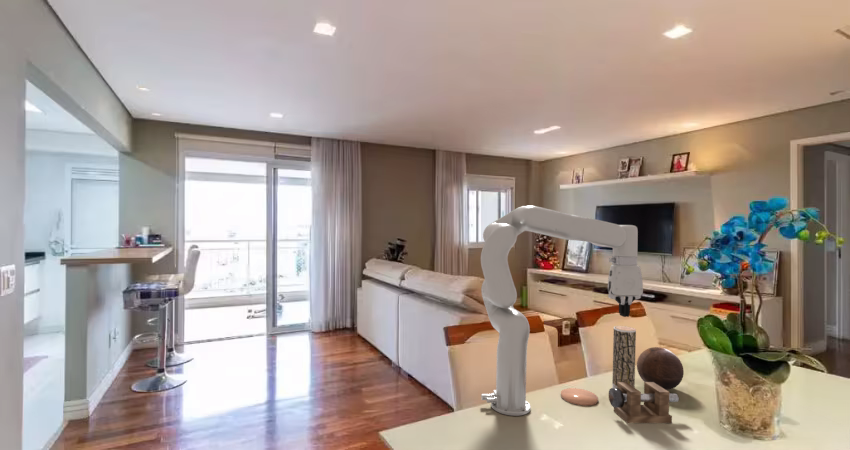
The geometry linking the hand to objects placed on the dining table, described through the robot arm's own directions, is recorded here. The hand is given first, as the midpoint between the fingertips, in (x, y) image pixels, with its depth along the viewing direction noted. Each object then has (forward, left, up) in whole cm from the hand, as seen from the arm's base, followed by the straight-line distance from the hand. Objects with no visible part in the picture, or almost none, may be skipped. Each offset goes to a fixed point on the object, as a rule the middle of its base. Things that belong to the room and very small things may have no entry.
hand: (624, 315), depth 138 cm
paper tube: (+1, +1, -30) cm, 30 cm away
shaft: (+2, -10, -26) cm, 28 cm away
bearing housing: (+1, -10, -30) cm, 31 cm away
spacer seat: (-13, +4, -30) cm, 33 cm away
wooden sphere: (+21, +12, -30) cm, 38 cm away
